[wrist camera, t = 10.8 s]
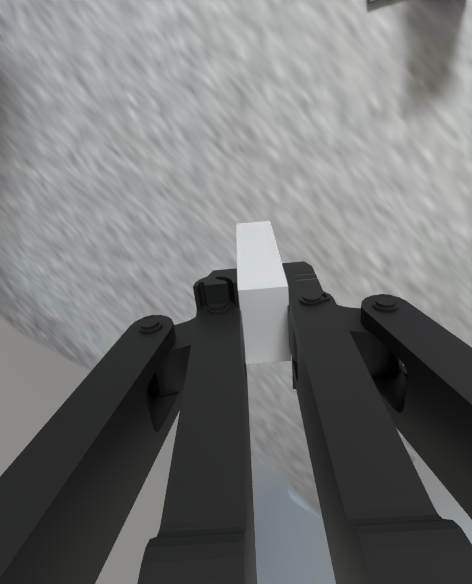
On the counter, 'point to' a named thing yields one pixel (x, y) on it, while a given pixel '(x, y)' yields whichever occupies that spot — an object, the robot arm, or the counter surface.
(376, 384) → the robot arm
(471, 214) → the counter surface
